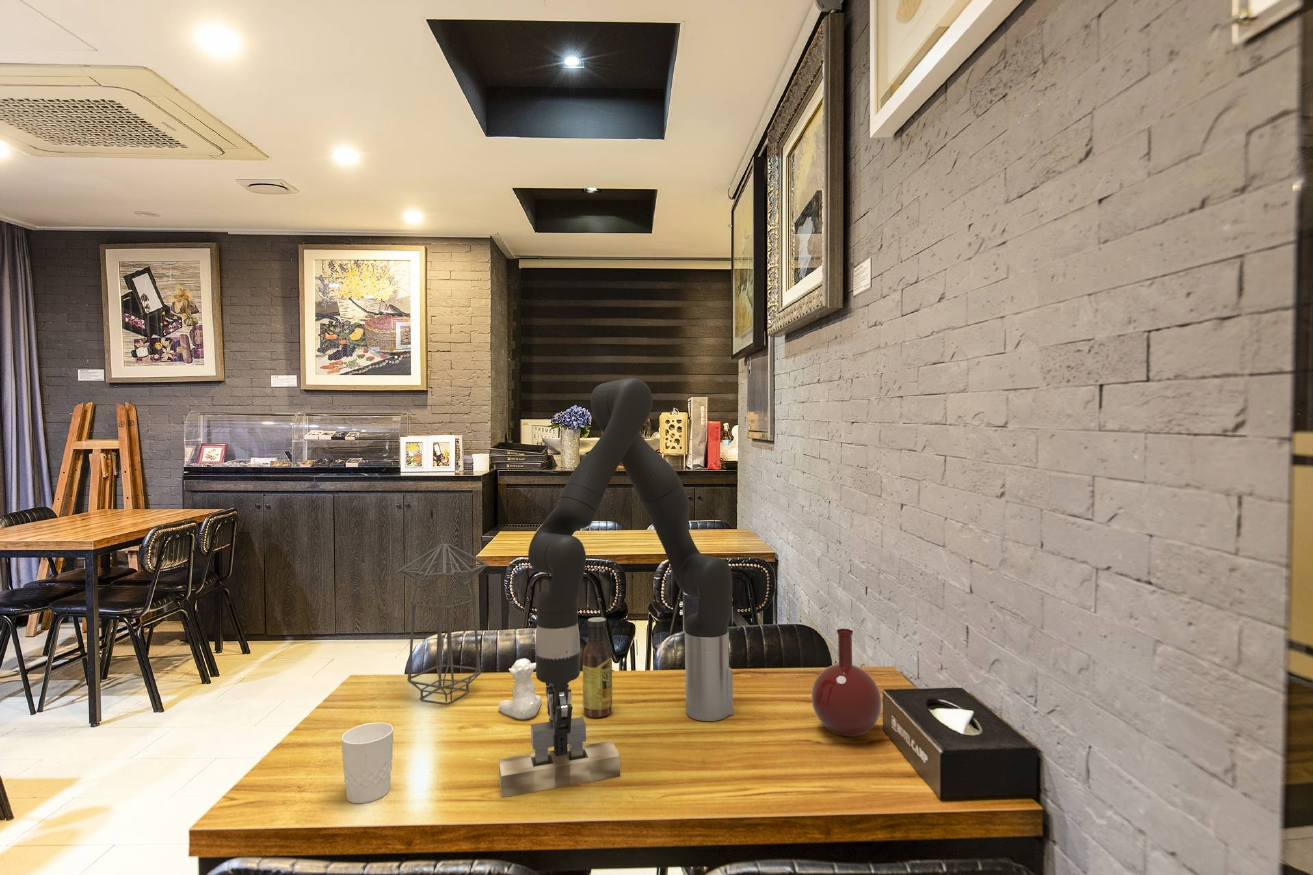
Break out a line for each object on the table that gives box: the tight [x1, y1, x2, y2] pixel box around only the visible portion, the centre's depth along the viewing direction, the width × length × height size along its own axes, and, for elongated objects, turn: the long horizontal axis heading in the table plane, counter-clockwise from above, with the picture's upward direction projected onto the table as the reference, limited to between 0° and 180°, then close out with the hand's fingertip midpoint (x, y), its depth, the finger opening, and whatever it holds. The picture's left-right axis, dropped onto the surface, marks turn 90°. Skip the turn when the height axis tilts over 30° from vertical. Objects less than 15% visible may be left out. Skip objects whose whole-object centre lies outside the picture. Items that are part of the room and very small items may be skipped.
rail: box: [498, 740, 621, 798], centre depth 110 cm, size 20×6×4 cm, turn 108°
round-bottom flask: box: [811, 628, 883, 737], centre depth 126 cm, size 13×13×20 cm
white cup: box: [341, 722, 394, 804], centre depth 107 cm, size 8×8×10 cm
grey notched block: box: [530, 716, 587, 766], centre depth 110 cm, size 9×3×8 cm, turn 108°
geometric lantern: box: [398, 543, 490, 706], centre depth 148 cm, size 16×16×35 cm
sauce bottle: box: [582, 616, 613, 719], centre depth 137 cm, size 7×6×20 cm
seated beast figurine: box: [498, 657, 542, 721], centre depth 137 cm, size 10×9×12 cm
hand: (559, 749), depth 110 cm, fingers closed on grey notched block, 3 cm apart
